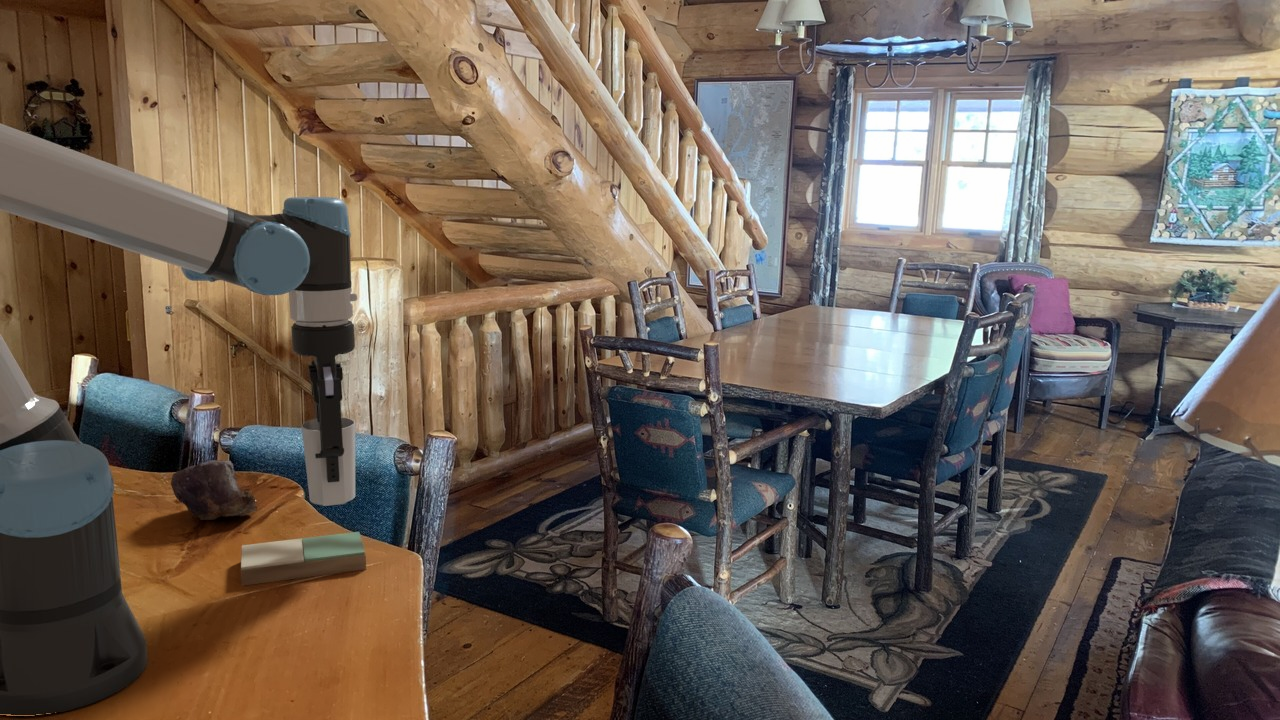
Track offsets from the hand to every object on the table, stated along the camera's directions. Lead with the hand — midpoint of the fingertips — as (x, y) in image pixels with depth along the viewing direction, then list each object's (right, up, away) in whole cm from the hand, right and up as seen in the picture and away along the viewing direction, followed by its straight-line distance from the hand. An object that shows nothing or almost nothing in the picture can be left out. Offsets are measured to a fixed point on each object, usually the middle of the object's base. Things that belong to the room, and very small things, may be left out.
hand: (332, 495), depth 125 cm
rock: (-23, -6, +17) cm, 29 cm away
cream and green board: (-4, -9, 0) cm, 10 cm away
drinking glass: (0, 0, 0) cm, 0 cm away
